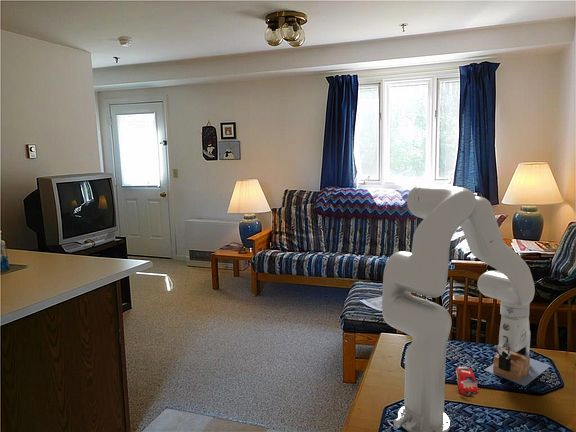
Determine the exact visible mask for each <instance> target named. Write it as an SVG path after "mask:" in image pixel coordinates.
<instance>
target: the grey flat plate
mask: <svg viewBox="0 0 576 432" xmlns="http://www.w3.org/2000/svg"><path fill="white" fill-rule="evenodd" d="M493 364H494V363H492V364H490V365H489V366H488V367H485V369H484V371H485V372H487V373H491V374H493V375H496V376H498V377H501V378H504V379H506V380H508V381H509V382H513V383H515V384H517V385H518V384H519V385H520V386H523V387H526V386H527V385H529V384H530V383H531V382H533V381H534V380H535V379H536V378H538V377H539V376H540V375H541V374H543V373H544V372H545V371H547V370H548V369H549V368H550V367H551V366H552V365H551V364H549V363H545V362H543V361H539V360H536V359H533V358H530V363H529V373H528V374H527V375H526V376H525V377H523V378H522V379H521V380H519V381H515V380H512V379H510V378H507V377H505V376H502V375H500V374H497V373H494V372H493Z"/></svg>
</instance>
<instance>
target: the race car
mask: <svg viewBox="0 0 576 432" xmlns="http://www.w3.org/2000/svg"><path fill="white" fill-rule="evenodd" d="M454 374H455V377H456V381H457V386H458V387H457V388H458V389H457V390H458V391H457V392H458V394H459V395H462V396H464V397H469V398H474V397H475V396H474V395H475V394H478V393H479V387H478V383H477V382H478V380H477V379H476V376H475V374H474V371H473V369H472V368H471V367H468V366H458V367H457V366H456V369H455V372H454Z"/></svg>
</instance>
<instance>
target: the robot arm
mask: <svg viewBox="0 0 576 432" xmlns="http://www.w3.org/2000/svg"><path fill="white" fill-rule="evenodd" d="M406 205H407V209H408V210H409V211H410V214H412V215H413V216H415V217H417V218H420V219H422V221H421V222H420V223H419V224H418V226H417V227H416V229H415V231H414V233H413V236H412V244H411V245H412V246H411V252H410V251H407V250H404V251H402V250H401V251H396V252H394V253H392V255H390V257H389V258H388V259H387V261H386V264H385V266H384V269H383V275H382V297H381V298H382V299H381V312H382V318H383V320H384V321H385V323H386V324H387V325H388V326H390V327H392V328H393V329H396V330H398V331H400V332H402V333H404V334H406V335H408V336H411V337H412V342H411V343H410V344H409V345H408V346H407V348H406V350H405V354H404V397H403V398H404V401H403V402H404V405H403V406H402V407H401V408H400V409H399V410H398V412H397V418H395V419H394V420H393V425H394V427H395V428H396V429H399V428H401V427H402V428H403V429H404V430H406V431H407V432H449V431H450V428H451V419H450V417H449V416H448V415H447V414H446V413H445V392H446V391H445V390H446V389H445V385H446V384H445V383H446V359H447V356H446V355H447V346H448V340H449V336H450V332H451V328H452V318H451V315H450V313H449V312H448V310H447V308H444V307H443V306H441V305H440V304H438V303H436V302H434V301H430V300H427V299H425V298H423V297H419V296H424V297H426V298H439V297H440V296H442V295H443V294H444V293H445V292H446V289H447V283H448V275H449V260H450V247H451V242H452V239H453V236H454V235H455V232H456V231H457V230H458V229H459V227H460V228H461V229H462V232H463V234H464V237H465V239H466V243H467V245H468V247H469V251H470V253H471V254H472V255H473V256H474V257H475V258H477V259H478V260H480V261H481V262H483V263H485V264H487V265H488V266H489V267H491V268H494V269H495V270H488V271H485V272H483V273H482V274H481V275H480V276H479V277H478V280H477V285H476V286H477V289H478V291H479V292H480V293H481V294H482V295H484V296H485V297H488V298H492V299H495V300H498V301H500V305H499V306H500V309H499V311H500V312H499V314H500V315H501V318H500V325H499V333H498V334H499V335H498V344H497V347H496V350H497V354H498V356H499V366H498V367H499V369H502V370H505V371H507V372H510V367H511V359H510V355H511V352H515V353H518V354H521V355H524V356H526V346H527V344H528V343H529V330H530V306H531V305H530V304H531V302H533V300H534V297H535V294H536V293H535V291H536V289H535V282H534V278H533V275H532V272H531V269H530V267H529V265H528V264H527V263H526V261H525V260H524V259H523V258H522V257H521V256H520V255H519V254H518V253H517V252H516V251H515V250H513V248H511V247H510V246H509V245H508V244H506V243H505V241H504V239H503V236H502V233H501V230H500V226H499V225H498V221H497V217H496V214H495V211H494V208H493V206H492V204H491V201H489V200H488V199H487V198H485V197H483V196H478V195H476V194H475V193H474V192H473V191H472V190H470V189H468V188H466V187H462V186H456V185H455V186H454V185H440V184H439V185H437V184H418V185H416V186H414V187H413V188H411V189H410V191H409V193H408V194H407V199H406ZM412 293H414V294H416V295H419V296H415V295H414V294H413V295H412ZM524 347H525V348H524ZM504 350H507V351H508V353H507V354H506V352H504Z"/></svg>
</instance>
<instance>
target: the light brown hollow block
mask: <svg viewBox="0 0 576 432" xmlns="http://www.w3.org/2000/svg"><path fill="white" fill-rule="evenodd" d="M504 352H506V354H507V353H508V351H507V350H505V349H504ZM510 359H511V367H510V372H507V371H505V370H502V369H499V367H498V366H499V356H498V353H497V354H496V355H494V356H493V363H492V364H493V372H494V373H497V374H500V375H502V376H505V377H507V378H510V379H512V380H515V381H519V380H521V379H522V378H523V377H525V376H526V375H527V374H528V373H529V363H530V356H529V357H527V356H524V355H521V354H518V353H515V352H513V351H512V352H511V355H510Z"/></svg>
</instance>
